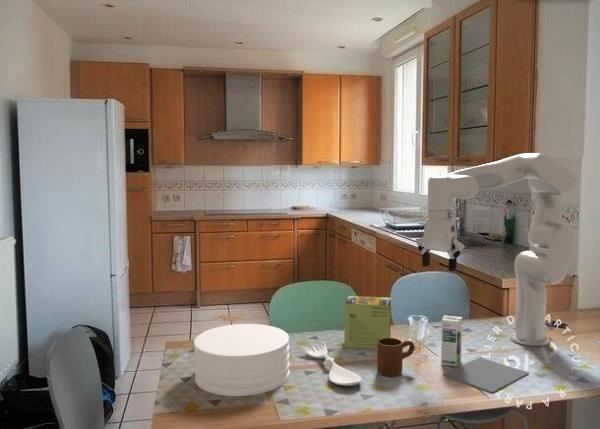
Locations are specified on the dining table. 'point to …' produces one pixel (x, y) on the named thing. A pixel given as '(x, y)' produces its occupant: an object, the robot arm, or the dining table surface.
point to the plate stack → (241, 359)
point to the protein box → (367, 321)
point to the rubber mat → (486, 374)
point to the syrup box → (451, 341)
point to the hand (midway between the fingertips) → (439, 268)
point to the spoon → (334, 367)
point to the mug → (392, 355)
